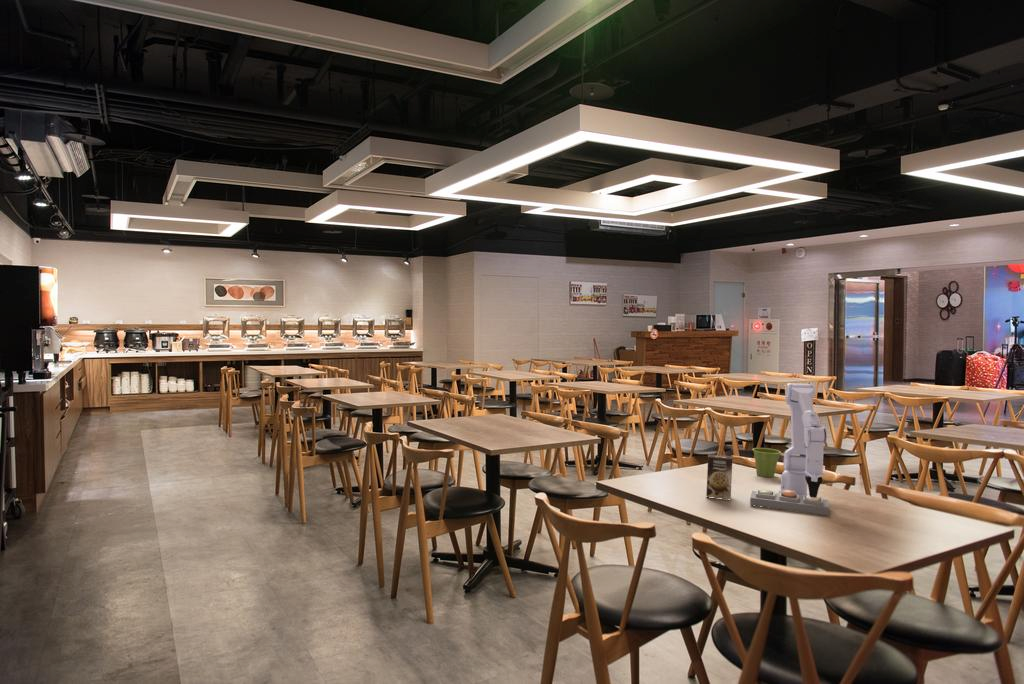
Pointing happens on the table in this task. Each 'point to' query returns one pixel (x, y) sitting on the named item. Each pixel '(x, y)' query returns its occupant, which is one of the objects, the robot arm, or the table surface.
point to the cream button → (812, 498)
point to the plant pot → (766, 461)
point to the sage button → (765, 492)
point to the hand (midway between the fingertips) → (813, 497)
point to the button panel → (790, 503)
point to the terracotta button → (789, 493)
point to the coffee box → (719, 476)
